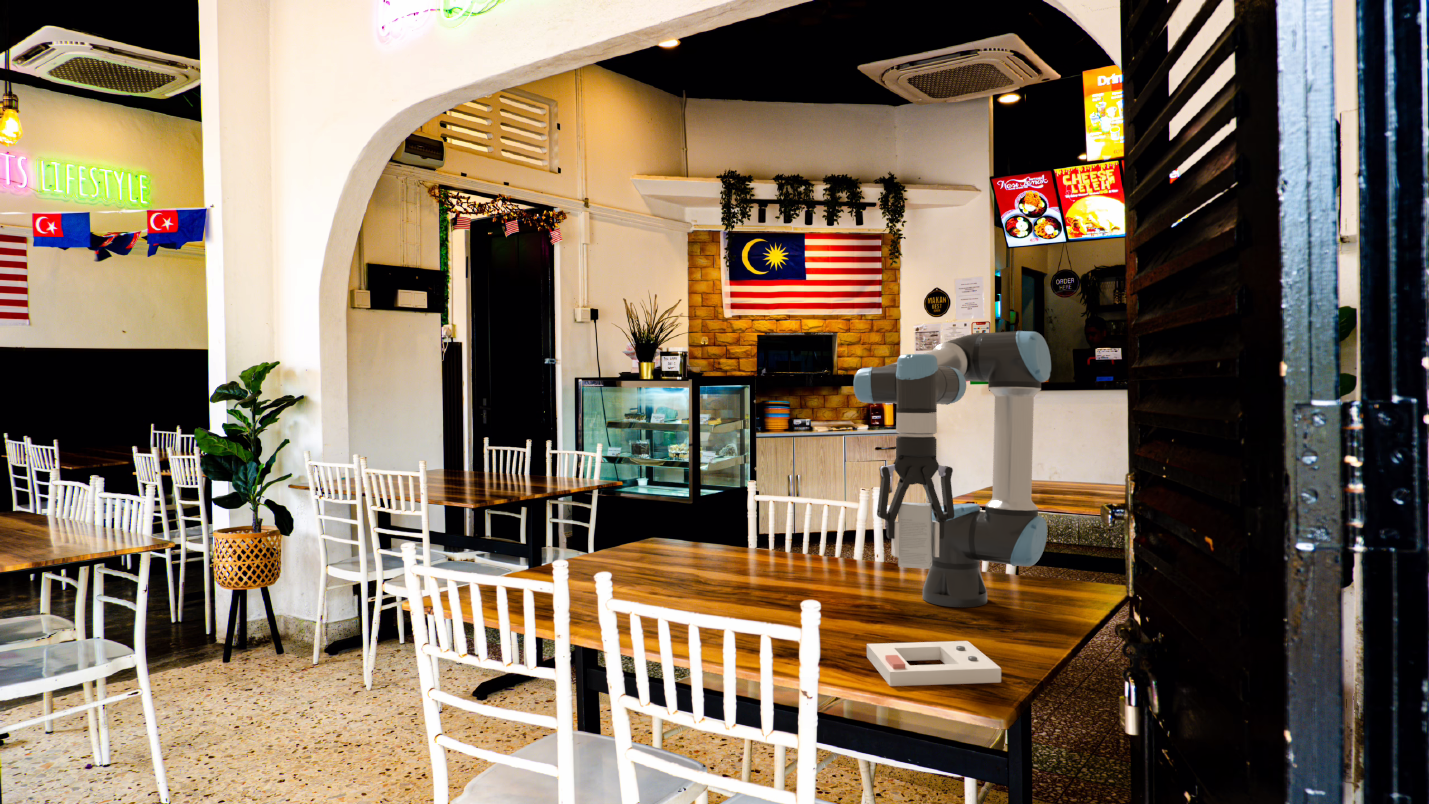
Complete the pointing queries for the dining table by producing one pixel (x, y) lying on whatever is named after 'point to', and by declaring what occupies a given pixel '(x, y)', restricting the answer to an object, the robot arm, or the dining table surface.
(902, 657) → the socket plate
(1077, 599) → the dining table surface
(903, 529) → the skincare box
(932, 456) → the robot arm
